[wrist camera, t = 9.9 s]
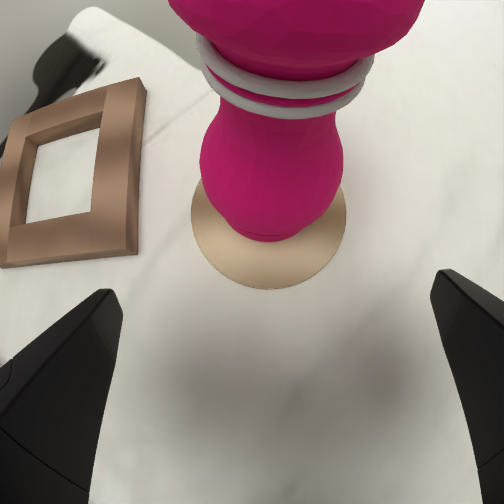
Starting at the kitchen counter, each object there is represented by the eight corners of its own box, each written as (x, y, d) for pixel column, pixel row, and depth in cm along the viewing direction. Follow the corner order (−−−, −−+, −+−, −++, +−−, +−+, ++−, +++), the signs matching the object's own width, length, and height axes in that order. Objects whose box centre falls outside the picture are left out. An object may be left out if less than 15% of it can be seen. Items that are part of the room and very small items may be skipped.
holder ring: (137, 254, 21) (125, 248, 19) (2, 268, 22) (-13, 264, 20) (146, 91, 24) (139, 77, 22) (23, 129, 24) (12, 120, 22)
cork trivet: (353, 280, 20) (356, 279, 19) (196, 295, 20) (194, 294, 20) (330, 140, 22) (332, 136, 21) (191, 153, 22) (189, 149, 22)
